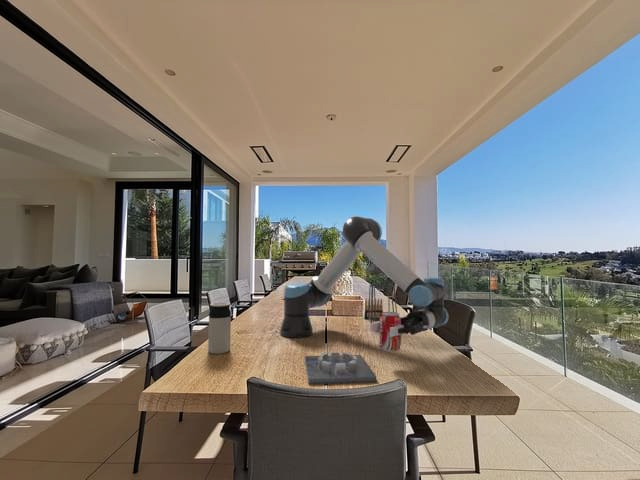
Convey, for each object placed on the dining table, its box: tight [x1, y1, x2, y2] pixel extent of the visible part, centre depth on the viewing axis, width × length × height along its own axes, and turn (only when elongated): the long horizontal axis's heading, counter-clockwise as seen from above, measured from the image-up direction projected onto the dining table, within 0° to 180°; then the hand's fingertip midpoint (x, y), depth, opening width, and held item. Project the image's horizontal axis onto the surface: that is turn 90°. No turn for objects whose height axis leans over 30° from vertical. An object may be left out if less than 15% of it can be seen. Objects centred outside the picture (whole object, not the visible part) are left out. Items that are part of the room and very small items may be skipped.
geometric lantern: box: [363, 262, 398, 332], centre depth 158 cm, size 16×16×35 cm
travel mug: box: [207, 301, 232, 355], centre depth 121 cm, size 8×8×18 cm
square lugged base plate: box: [304, 351, 377, 385], centre depth 102 cm, size 20×20×4 cm
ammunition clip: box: [363, 297, 384, 320], centre depth 182 cm, size 11×2×12 cm, turn 92°
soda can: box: [378, 311, 402, 353], centre depth 106 cm, size 7×7×12 cm
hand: (380, 329), depth 103 cm, fingers closed on soda can, 7 cm apart
